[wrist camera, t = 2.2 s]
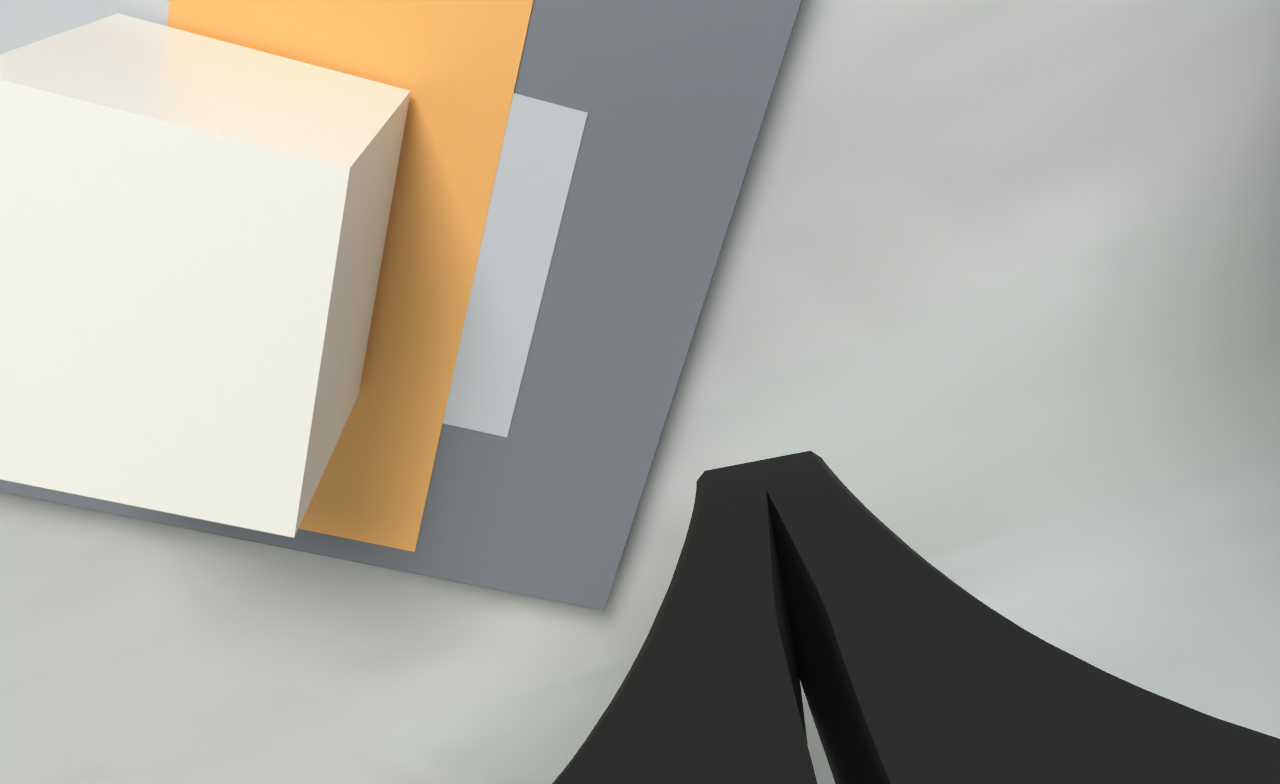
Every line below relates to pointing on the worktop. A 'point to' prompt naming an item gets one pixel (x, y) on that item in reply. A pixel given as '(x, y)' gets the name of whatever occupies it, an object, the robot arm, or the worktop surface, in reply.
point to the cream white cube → (186, 267)
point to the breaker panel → (510, 263)
